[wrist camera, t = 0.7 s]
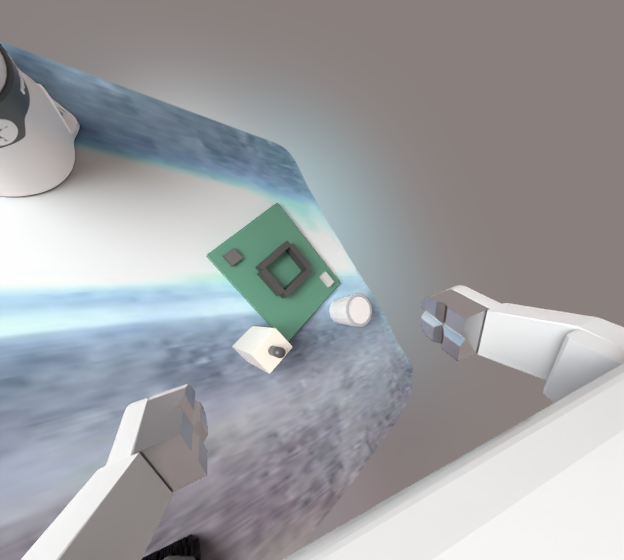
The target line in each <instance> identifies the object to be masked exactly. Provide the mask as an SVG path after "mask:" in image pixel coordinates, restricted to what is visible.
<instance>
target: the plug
mask: <svg viewBox="0 0 624 560" xmlns="http://www.w3.org/2000/svg"><path fill="white" fill-rule="evenodd" d="M232 347H233V348H234V349H235V350H236V351H237V352H238V353H239V354H240V355H241V356H242V357H243V358H244V359H245V360H246V361H247V362H249V363H251V364H253V365H254V366H256V367H258V368H260V369H262V370H264V371H266V372H267V373H269V374H270V373H271V372H272V371H273V369H274V368H275V367H276V366H277V365H278V364H279V362H280V361H281V360H282V359H283V358H284V357H285V355H286V354H287V353H288V352H289V351H290V350H291V348H292V345H291V344H290V343H289V342H288V341H287V340H286V339H285V338H284V337H283V336H282V334H281V333H280V332H279V331H278V330H277V329H276V328H269V327H257V326H252V327H251V328H250V329H249V330H248V331H247V332H246V333H245V334H244V335H243V336H242V337H241V338H240V339H239V340H238V341H237V342H236V343H235V344H234V345H233V346H232Z"/></svg>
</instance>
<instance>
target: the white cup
mask: <svg viewBox="0 0 624 560" xmlns="http://www.w3.org/2000/svg"><path fill="white" fill-rule="evenodd" d="M330 315H331V318H332V319H333V321H335V322H336V323H339V324H345V325H350V326H356V327H363V326H365V325H367V323H368V322H369V321H370V319H371V315H372V307H371V304H370V301H369V300H368V298H367V297H366V296H364V295H363V294H353V295H350V296H346V297H343V298H339V299H336V300H334V301H333V302H332V303H331V306H330Z"/></svg>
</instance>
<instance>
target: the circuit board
mask: <svg viewBox="0 0 624 560" xmlns="http://www.w3.org/2000/svg"><path fill="white" fill-rule="evenodd" d="M206 257H207V258H208V259H209V260H210V261H211V262H212V263H213V264H214V265H215V266H216V267H217V269H218V270H219V271H220V272H221V273H222V274H223V275H224V276H225V277H226V278H227V279H228V280H229V282H230V283H231V284H232V285H233V286H234V287H235V288H236V289H237V290H238V291H239V292H240V294H241V295H242V296H243V297H244V298H245V299H246V300H247V301H248V302H249V303H250V304H251V306H252V307H253V308H254V309H255V310H256V311H257V312H258V313H259V314H260V315H261V316H262V317H263V319H264V320H265V321H266V322H267V323H268V324H269V325H270V326H271V327H272V328H276V329H277V330H278V331H279V332H280V333H281V334H282V336H283V337H284V338H285V339H286V340H287V341H289V340H290V339H291V338H292V337H293V336H294V335H295V333H296V332H297V331H298V330H299V329H300V328H301V327H302V325H303V324H304V323H305V322H306V321H307V320H308V319H309V317H310V316H311V315H312V314H313V313H314V312H315V311H316V309H317V308H318V307H319V306H320V305H321V304H322V303H323V301H324V300H325V299H326V298H327V297H328V296H329V295H330V293H331V292H332V291H333V290H334V289H335V288H336V287H337V286H338V284H339V283H340V282H339V281H338V279H337V278H336V277H335V276H334V274H333V273H332V272H331V270H330V269H329V268H328V267H327V265H326V264H325V263H324V262H323V260H322V259H321V258H320V256H319V255H318V254H317V253H316V251H315V250H314V249H313V248H312V246H311V245H310V244H309V242H308V241H307V240H306V239H305V237H304V236H303V235H302V234H301V232H300V231H299V230H298V228H297V227H296V226H295V225H294V223H293V222H292V221H291V219H290V218H289V217H288V216H287V214H286V213H285V212H284V211H283V209H282V208H281V207H280V205H279V204H278V203H276V204H275V205H274V206H272V207H271V208H269V209H268V210H267V211H265V212H264V213H263V214H261V215H260V216H259V217H257V218H256V219H255V220H253V221H252V222H251V223H249V224H248V225H247V226H245V227H244V228H243V229H241V230H240V231H239V232H237V233H236V234H234V235H233V236H232V237H230V238H229V239H228V240H226V241H225V242H224V243H222V244H221V245H220V246H218V247H217V248H216V249H214V250H213V251H212V252H210V253H209V254H208V255H207V256H206Z"/></svg>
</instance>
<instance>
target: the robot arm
mask: <svg viewBox="0 0 624 560" xmlns="http://www.w3.org/2000/svg"><path fill="white" fill-rule="evenodd" d="M62 115H63V116H62ZM79 128H80V125H79V122H78V121H77V119H76V118H75V117H74V116H73V115H72V114H71V113H70V112H68V111H67V110H66V109H65V108H63V107H62V106H61V105H60V104H58V103H57V102H56V101H55V100H53V99H52V98H51V97H50V96H49V94H48V93H47V91H46V90H45V89H44V87H43V86H42V85H41V84H37V83H35V82H34V81H33V80H32V79H31V78H30V77H28V76H27V75H26V74H24V73H23V72H22V71H20V70H19V69H18V67H17V66H16V64H15V62H14V61H13V59H12V58H11V56H9V54H8V53H7V51H5V49H4V48H3V47H2V45H1V44H0V196H28V195H33V194H38V193H41V192H44V191H47V190H50V189H52V188H54V187H55V186H57V185H59V184H60V183H61V182H63V181H64V180H65V179H66V178H67V176H68V175H69V174H70V172H71V171H72V168H73V166H74V162H75V149H74V139H75V137H76V136H77V134H78V131H79ZM422 309H423V310H424V311H425V312H424V313H423V315H422V317H421V327H422V330H423V332H424V333H425V335H426V336H427V337H428V338H429V339H430V340H432V341H434V342H437V343H440V344H441V347H442V349H443V350H444V351H445V352H447V353H448V354H449V355H450V356H451V357H453V358H454V359H455V360H457V361H460V360H462V359H464V358H467V357H469V356H472V355H474V354H476V353H478V355H481V356H483V357H486V358H488V359H491V360H494V361H496V362H499V363H502V364H504V365H507V366H510V367H512V368H515V369H518V370H520V371H523V372H525V373H528V374H531V375H533V376H536V377H539V378H542V379H544V380H547V382H546V384H545V387H544V389H543V392H544V395H545V396H546V397H548V398H549V399H551V400H552V401H553V402H555V403H553V404H551V405H550V406H548V407H546V408H544V409H543V410H541V411H539V412H538V413H536V414H534V415H532V416H530V417H529V418H527V419H525V420H523V421H522V422H520V423H518V424H517V425H515V426H513V427H511V428H510V429H508V430H506V431H504V432H503V433H501V434H499V435H497V436H496V437H494V438H492V439H490V440H489V441H487V442H485V443H484V444H482V445H480V446H478V447H477V448H475V449H473V450H471V451H469V452H468V453H466V454H464V455H463V456H461V457H459V458H457V459H456V460H454V461H452V462H450V463H449V464H447V465H445V466H443V467H442V468H440V469H438V470H436V471H435V472H433V473H431V474H429V475H428V476H426V477H424V478H422V479H421V480H419V481H417V482H416V483H414V484H412V485H410V486H409V487H407V488H405V489H403V490H402V491H400V492H398V493H396V494H395V495H393V496H391V497H389V498H388V499H386V500H384V501H382V502H381V503H379V504H377V505H375V506H374V507H372V508H370V509H368V510H367V511H365V512H363V513H362V514H360V515H358V516H356V517H355V518H353V519H351V520H349V521H348V522H346V523H344V524H343V525H341V526H339V527H337V528H335V529H334V530H332V531H330V532H328V533H327V534H325V535H323V536H322V537H320V538H318V539H316V540H315V541H313V542H311V543H309V544H308V545H306V546H304V547H302V548H301V549H299V550H297V551H295V552H294V553H292V554H290V555H288V556H287V557H285V558H283V559H282V560H624V328H623V327H621V326H618V325H616V324H613V323H611V322H608V321H606V320H603V319H601V318H598V317H591V316H585V315H579V314H572V313H566V312H559V311H553V310H547V309H541V308H535V307H528V306H522V305H515V304H509V303H505V304H501V303H499V302H496V301H495V300H492V299H490V298H488V297H486V296H484V295H482V294H480V293H478V292H476V291H474V290H471V289H469V288H468V287H465V286H463V285H457V286H454V287H452V288H449V289H447V290H445V291H442V292H439V293H436V294H434V295H431V296H429V297H426V298H424V300H423V301H422ZM207 435H208V425H207V419H206V414H205V411H204V408H203V406H202V404H201V402H198V401H195V391H194V390H193V388H192V386H191V385H190V384H186V385H183V386H180V387H177V388H174V389H171V390H168V391H165V392H163V393H160V394H157V395H154V396H151V397H149V398H146V399H143V400H140V401H137V402H134V403H131V404H130V405H129V406H128V407H127V408H126V410H125V413H124V415H123V418H122V421H121V424H120V427H119V430H118V433H117V436H116V438H115V441H114V444H113V447H112V450H111V453H110V456H109V459H108V461H107V464H106V466H105V467H102V468H100V469H98V470H97V472H96V473H95V474H94V475H93V476H92V477H91V479H90V480H89V481H88V482H87V483H86V484H85V486H84V487H83V488H82V489H81V490H80V491H79V493H78V494H77V495H76V496H75V497H74V498H73V500H72V501H71V502H70V503H69V504H68V505H67V506H66V508H65V509H64V510H63V511H62V512H61V513H60V515H59V516H58V517H57V518H56V519H55V520H54V522H53V523H52V524H51V525H50V526H49V527H48V529H47V530H46V531H45V532H44V533H43V534H42V536H41V537H40V538H39V539H38V540H37V541H36V542H35V544H34V545H33V546H32V547H31V548H30V549H29V551H28V552H27V553H26V554H25V555H24V556H23V558H22V559H21V560H141V559H142V557H143V555H144V553H145V551H146V549H147V547H148V545H149V543H150V541H151V539H152V537H153V535H154V533H155V531H156V529H157V527H158V525H159V523H160V520H161V518H162V516H163V514H164V512H165V510H166V508H167V506H168V504H169V502H170V500H171V498H172V496H173V493H172V492H174V491H176V490H178V489H180V488H183V487H185V486H187V485H189V484H191V483H193V482H195V481H197V480H199V479H201V478H203V477H205V476H207V449H206V447H205V445H204V444H203V442H204V441H205V439H206V437H207Z"/></svg>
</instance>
